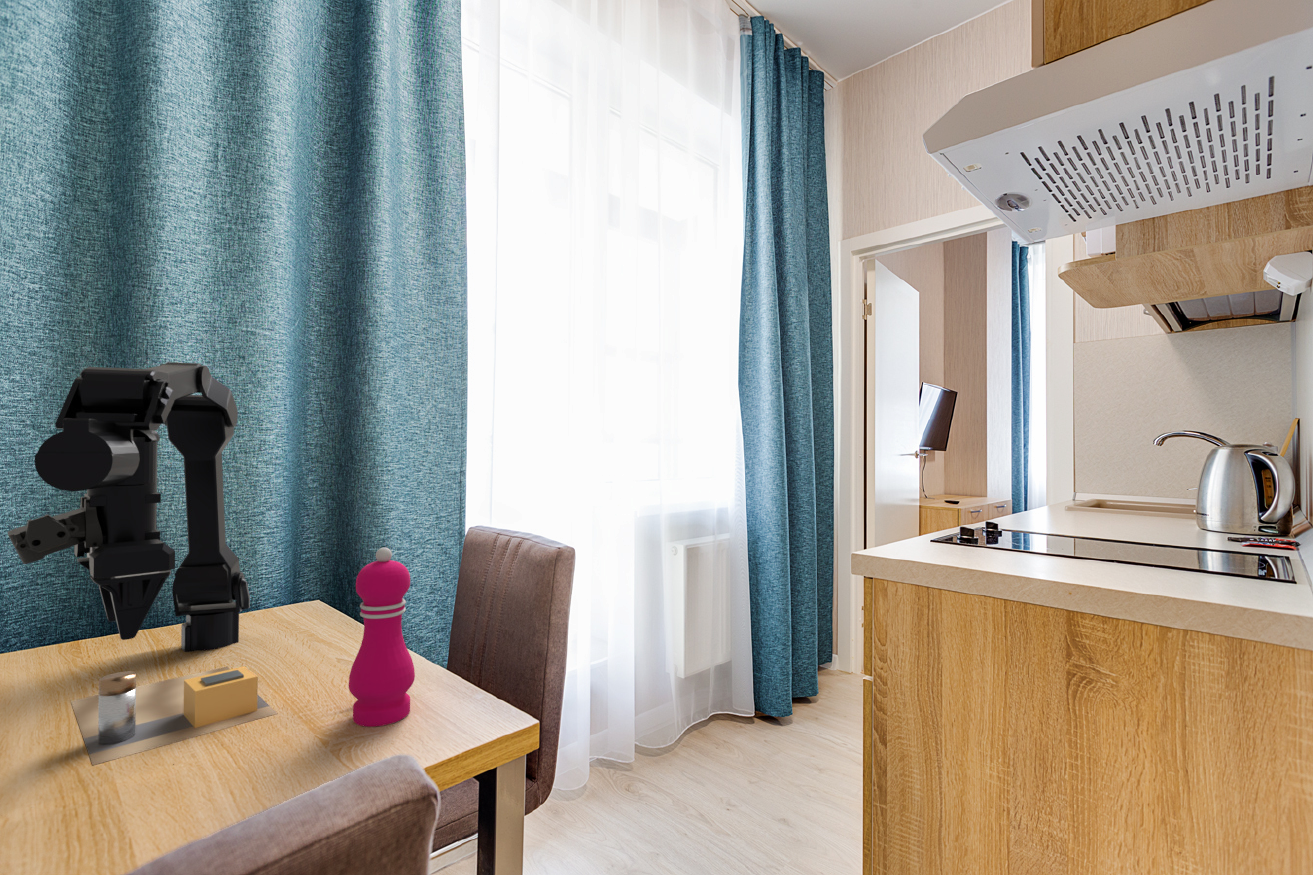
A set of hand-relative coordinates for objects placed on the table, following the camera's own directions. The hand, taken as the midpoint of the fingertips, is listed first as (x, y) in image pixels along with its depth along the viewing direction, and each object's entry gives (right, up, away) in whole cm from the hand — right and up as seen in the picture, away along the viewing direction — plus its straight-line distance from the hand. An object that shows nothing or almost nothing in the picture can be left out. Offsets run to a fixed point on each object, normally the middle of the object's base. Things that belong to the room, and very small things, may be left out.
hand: (120, 629), depth 67 cm
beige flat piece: (0, -12, +7) cm, 14 cm away
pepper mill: (+25, -13, +7) cm, 29 cm away
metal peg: (0, -11, -1) cm, 11 cm away
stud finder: (+7, -11, +5) cm, 14 cm away
